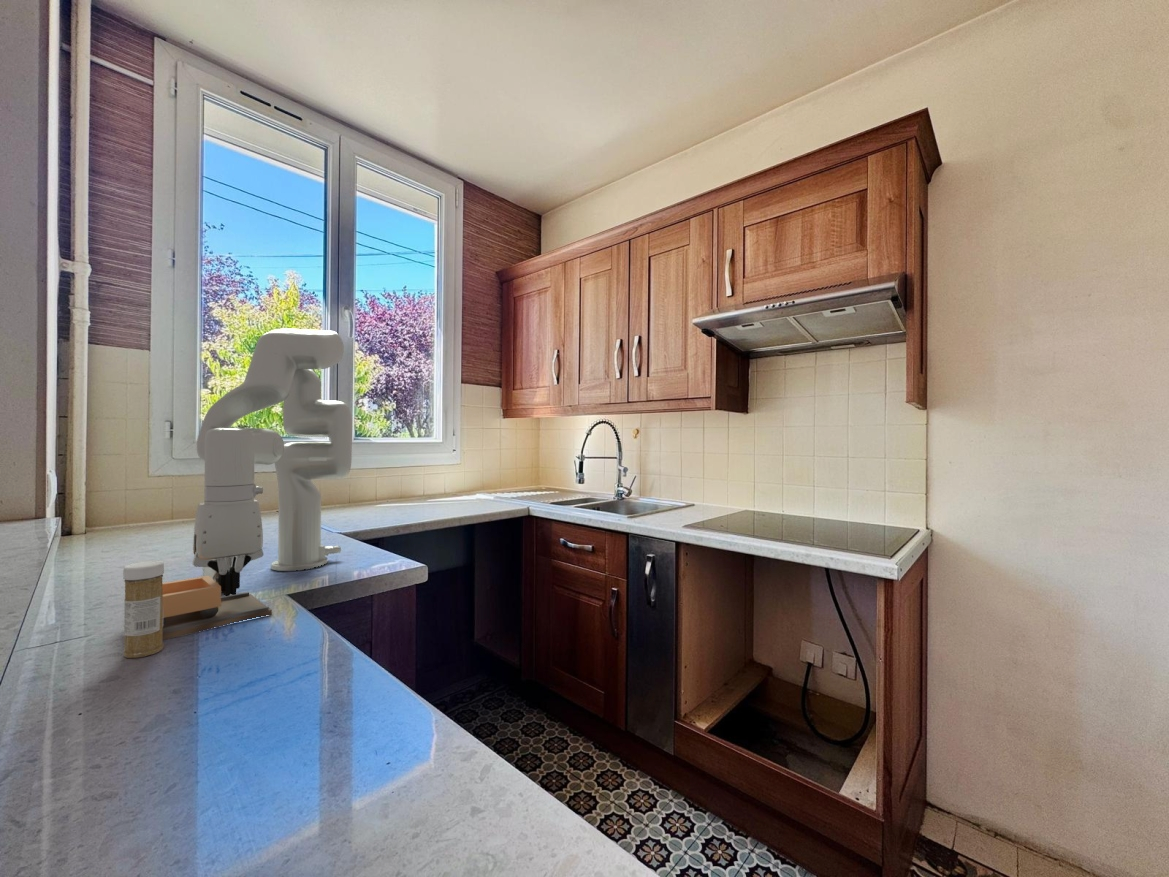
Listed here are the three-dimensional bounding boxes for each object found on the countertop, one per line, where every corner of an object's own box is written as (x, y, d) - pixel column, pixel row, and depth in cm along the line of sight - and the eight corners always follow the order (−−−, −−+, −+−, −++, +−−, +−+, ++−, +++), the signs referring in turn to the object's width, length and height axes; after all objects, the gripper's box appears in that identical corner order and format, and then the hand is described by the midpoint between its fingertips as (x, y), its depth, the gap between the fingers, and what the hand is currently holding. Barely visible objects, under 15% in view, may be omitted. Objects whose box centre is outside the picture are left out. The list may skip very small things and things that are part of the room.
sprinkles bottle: (166, 644, 77) (167, 558, 77) (159, 655, 73) (159, 565, 73) (128, 650, 75) (128, 562, 75) (118, 662, 71) (118, 568, 71)
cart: (208, 603, 93) (208, 575, 93) (220, 616, 86) (221, 586, 86) (136, 617, 85) (137, 587, 86) (144, 632, 79) (144, 599, 79)
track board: (250, 598, 100) (250, 590, 100) (271, 615, 90) (271, 606, 90) (129, 622, 86) (129, 613, 86) (140, 645, 77) (140, 635, 77)
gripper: (269, 490, 99) (268, 581, 99) (174, 496, 88) (173, 599, 88) (281, 493, 94) (281, 589, 94) (182, 499, 83) (181, 608, 83)
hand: (228, 593), depth 91 cm, fingers closed
